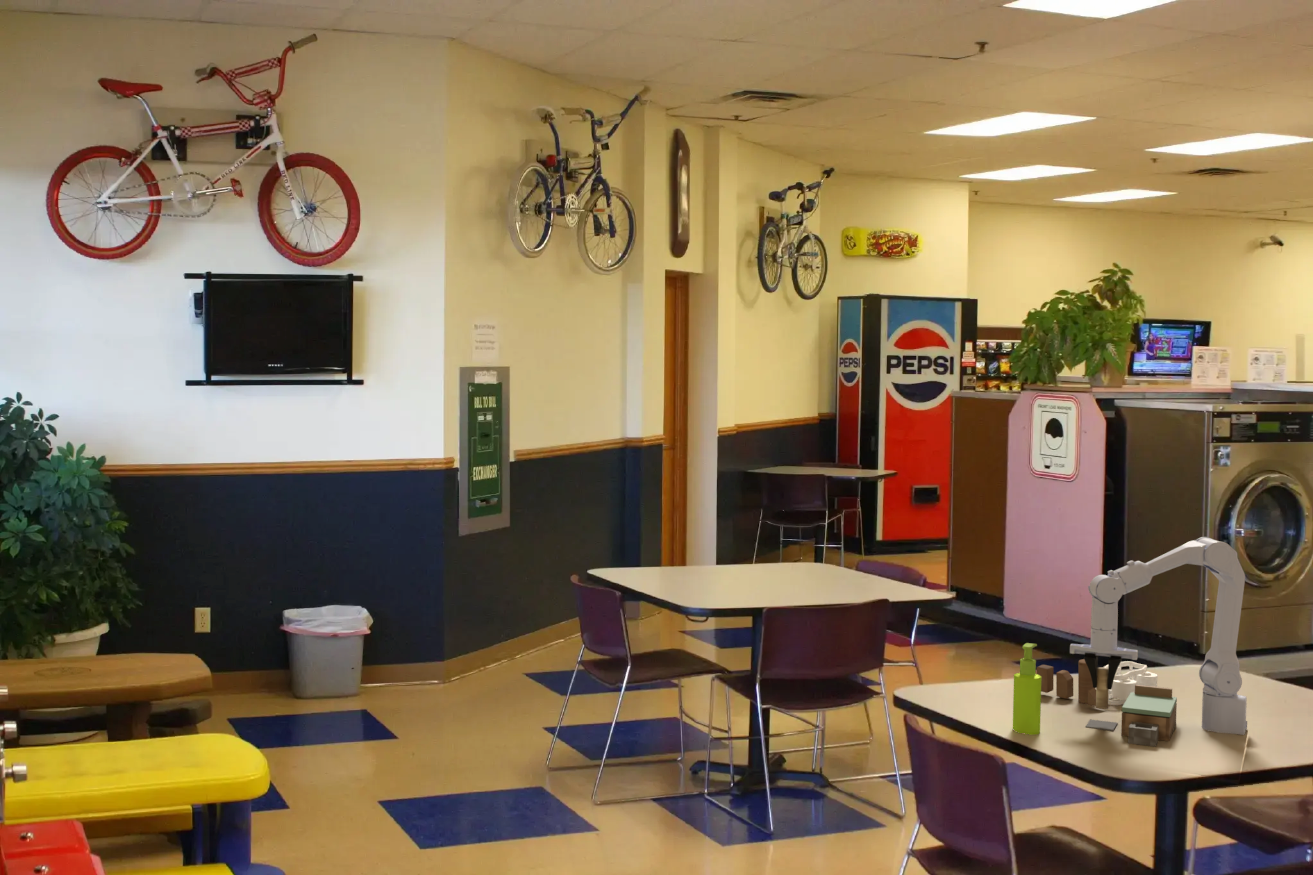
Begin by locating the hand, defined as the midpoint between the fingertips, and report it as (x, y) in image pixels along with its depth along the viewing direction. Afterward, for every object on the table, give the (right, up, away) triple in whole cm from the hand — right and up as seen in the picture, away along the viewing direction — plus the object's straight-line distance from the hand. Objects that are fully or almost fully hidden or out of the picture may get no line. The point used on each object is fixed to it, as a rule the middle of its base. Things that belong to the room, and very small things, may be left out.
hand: (1102, 687), depth 301 cm
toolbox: (+8, -9, -5) cm, 13 cm away
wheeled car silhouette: (+15, -8, +28) cm, 33 cm away
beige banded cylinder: (0, -5, 0) cm, 5 cm away
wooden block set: (+1, -8, +23) cm, 24 cm away
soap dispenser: (-19, -9, -6) cm, 22 cm away
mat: (0, -9, 0) cm, 9 cm away
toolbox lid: (+10, -4, -3) cm, 11 cm away
